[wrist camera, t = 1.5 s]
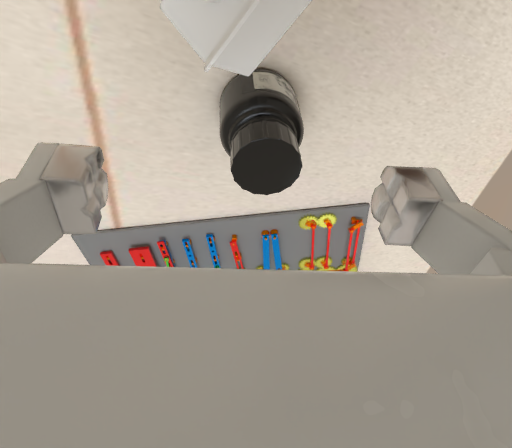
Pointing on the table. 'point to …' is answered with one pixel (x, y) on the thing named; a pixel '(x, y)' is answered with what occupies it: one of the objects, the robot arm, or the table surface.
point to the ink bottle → (261, 131)
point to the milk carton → (233, 29)
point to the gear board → (239, 242)
